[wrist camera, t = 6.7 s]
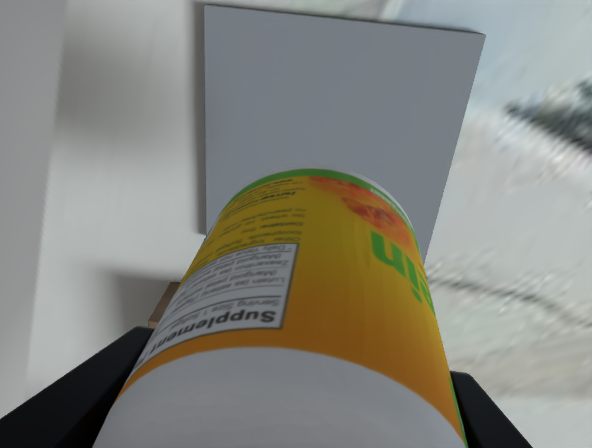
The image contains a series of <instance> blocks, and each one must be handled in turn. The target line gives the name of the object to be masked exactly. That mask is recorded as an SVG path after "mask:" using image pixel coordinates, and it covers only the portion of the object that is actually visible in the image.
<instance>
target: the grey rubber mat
mask: <svg viewBox="0 0 592 448" xmlns="http://www.w3.org/2000/svg"><path fill="white" fill-rule="evenodd" d="M485 37H486V35H485V34H483V33H473V32H464V31H454V30H445V29H435V28H426V27H416V26H407V25H397V24H388V23H379V22H369V21H360V20H350V19H341V18H331V17H322V16H312V15H303V14H293V13H284V12H274V11H265V10H255V9H246V8H237V7H227V6H218V5H204V48H205V150H206V236H207V235H208V233H209V231H210V229H211V227H212V226H213V224H214V222H215V221H216V219H217V217H218V216H219V214H220V212H221V211H222V210H223V208H224V207H225V205H226V204H227V203H228V201H229V200H230V199H231V198H232V197H233V196H234V194H235V193H236V192H237V191H238V190H239V189H240V188H242V187H243V186H244V185H245V184H247V183H248V182H250V181H251V180H253V179H254V178H256V177H258V176H260V175H262V174H264V173H266V172H269V171H271V170H274V169H277V168H281V167H285V166H289V165H296V164H304V163H319V164H329V165H334V166H339V167H343V168H346V169H349V170H352V171H355V172H357V173H359V174H362V175H364V176H365V177H367V178H369V179H371V180H372V181H374V182H376V183H377V184H378V185H380V186H381V187H382V188H384V189H385V190H386V191H387V192H388V193H390V194H391V195H392V196H393V198H394V199H395V200H396V201H397V202H398V203H399V204H400V206H401V207H402V208H403V210H404V211H405V213H406V214H407V216H408V218H409V220H410V222H411V224H412V227H413V229H414V232H415V235H416V238H417V242H418V245H419V248H420V253H421V257H422V261H423V266H424V262H425V258H426V255H427V251H428V247H429V244H430V240H431V236H432V233H433V229H434V225H435V222H436V218H437V214H438V210H439V207H440V203H441V199H442V196H443V192H444V188H445V185H446V181H447V177H448V174H449V170H450V166H451V163H452V159H453V155H454V151H455V148H456V144H457V140H458V137H459V133H460V129H461V126H462V122H463V118H464V115H465V111H466V107H467V104H468V100H469V96H470V92H471V89H472V85H473V81H474V78H475V74H476V70H477V67H478V63H479V59H480V56H481V52H482V48H483V45H484V41H485Z"/></svg>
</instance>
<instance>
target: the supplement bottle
mask: <svg viewBox="0 0 592 448" xmlns="http://www.w3.org/2000/svg"><path fill="white" fill-rule="evenodd" d="M92 448H469V447H468V444H467V441H466V437H465V433H464V428H463V424H462V420H461V416H460V412H459V409H458V405H457V400H456V396H455V392H454V388H453V384H452V380H451V376H450V372H449V368H448V364H447V360H446V356H445V352H444V348H443V344H442V340H441V336H440V332H439V328H438V324H437V320H436V316H435V312H434V307H433V303H432V299H431V295H430V290H429V286H428V282H427V278H426V274H425V269H424V266H423V261H422V257H421V253H420V248H419V245H418V242H417V238H416V235H415V232H414V229H413V227H412V224H411V222H410V220H409V218H408V216H407V214H406V213H405V211H404V210H403V208H402V207H401V206H400V204H399V203H398V202H397V201H396V200H395V199H394V198H393V196H392V195H391V194H390V193H388V192H387V191H386V190H385V189H384V188H382V187H381V186H380V185H378V184H377V183H376V182H374V181H372V180H371V179H369V178H367V177H365V176H364V175H362V174H359V173H357V172H355V171H352V170H349V169H346V168H343V167H339V166H334V165H329V164H319V163H304V164H296V165H289V166H285V167H281V168H277V169H274V170H271V171H269V172H266V173H264V174H262V175H260V176H258V177H256V178H254V179H253V180H251V181H250V182H248V183H247V184H245V185H244V186H243V187H242V188H240V189H239V190H238V191H237V192H236V193H235V194H234V196H233V197H232V198H231V199H230V200H229V201H228V203H227V204H226V205H225V207H224V208H223V210H222V211H221V212H220V214H219V216H218V217H217V219H216V221H215V222H214V224H213V226H212V227H211V229H210V231H209V233H208V235H207V236H206V238H205V239H204V241H203V243H202V245H201V247H200V249H199V251H198V253H197V255H196V256H195V258H194V260H193V262H192V264H191V265H190V267H189V269H188V271H187V273H186V274H185V276H184V278H183V280H182V282H181V283H180V285H179V287H178V289H177V291H176V292H175V294H174V296H173V298H172V300H171V301H170V303H169V305H168V307H167V309H166V310H165V312H164V314H163V316H162V318H161V319H160V321H159V323H158V325H157V327H156V328H155V330H154V332H153V334H152V336H151V337H150V339H149V341H148V343H147V345H146V346H145V348H144V350H143V352H142V354H141V355H140V357H139V359H138V361H137V363H136V364H135V366H134V368H133V370H132V372H131V374H130V375H129V377H128V379H127V380H126V382H125V384H124V386H123V388H122V390H121V391H120V393H119V395H118V397H117V398H116V400H115V402H114V404H113V406H112V407H111V409H110V411H109V413H108V415H107V417H106V419H105V422H104V424H103V426H102V428H101V430H100V432H99V434H98V437H97V439H96V441H95V443H94V445H93V447H92Z"/></svg>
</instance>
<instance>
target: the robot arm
mask: <svg viewBox="0 0 592 448" xmlns="http://www.w3.org/2000/svg"><path fill="white" fill-rule="evenodd" d="M154 330H155V328H150V327H143V326H137V327H135V328H133V329H132V330H130V331H129V332H127V333H126V334H124V335H123V336H121V337H120V338H118V339H117V340H116V341H114V342H113V343H111V344H110V345H108V346H107V347H105V348H104V349H102V350H101V351H99V352H98V353H96V354H95V355H94V356H92V357H91V358H89V359H88V360H86V361H85V362H83V363H82V364H80V365H79V366H77V367H76V368H74V369H73V370H71V371H70V372H69V373H67V374H66V375H64V376H63V377H61V378H60V379H58V380H57V381H55V382H54V383H52V384H51V385H49V386H48V387H47V388H45V389H44V390H42V391H41V392H39V393H38V394H36V395H35V396H33V397H32V398H30V399H29V400H27V401H26V402H24V403H23V404H22V405H20V406H19V407H17V408H16V409H14V410H13V411H11V412H10V413H8V414H7V415H5V416H4V417H2V418H1V419H0V448H92V447H93V445H94V443H95V441H96V439H97V437H98V434H99V432H100V430H101V428H102V426H103V424H104V422H105V419H106V417H107V415H108V413H109V411H110V409H111V407H112V406H113V404H114V402H115V400H116V398H117V397H118V395H119V393H120V391H121V390H122V388H123V386H124V384H125V382H126V380H127V379H128V377H129V375H130V374H131V372H132V370H133V368H134V366H135V364H136V363H137V361H138V359H139V357H140V355H141V354H142V352H143V350H144V348H145V346H146V345H147V343H148V341H149V339H150V337H151V336H152V334H153V332H154ZM449 372H450V376H451V380H452V384H453V388H454V392H455V396H456V400H457V405H458V409H459V412H460V416H461V420H462V424H463V428H464V433H465V437H466V441H467V444H468V447H469V448H533V447H532V446H531V445H530V444H529V443H528V441H527V440H526V439H525V438H524V437H523V436H522V434H521V433H520V432H519V431H518V430H517V429H516V427H515V426H514V425H513V424H512V423H511V422H510V420H509V419H508V418H507V417H506V416H505V415H504V413H503V412H502V411H501V410H500V409H499V408H498V406H497V405H496V404H495V403H494V402H493V401H492V399H491V398H490V397H489V396H488V395H487V394H486V392H485V391H484V390H483V389H482V388H481V387H480V385H479V384H478V383H477V382H476V381H475V380H474V378H473V377H472V376H471V375H469V374H467V373H463V372H456V371H449Z"/></svg>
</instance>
